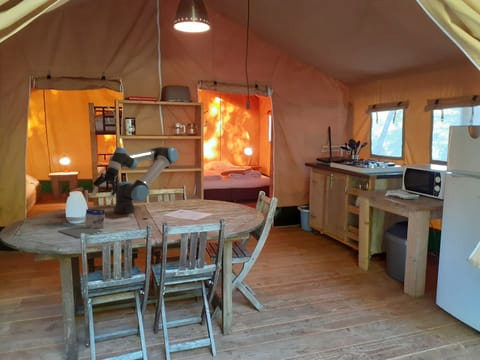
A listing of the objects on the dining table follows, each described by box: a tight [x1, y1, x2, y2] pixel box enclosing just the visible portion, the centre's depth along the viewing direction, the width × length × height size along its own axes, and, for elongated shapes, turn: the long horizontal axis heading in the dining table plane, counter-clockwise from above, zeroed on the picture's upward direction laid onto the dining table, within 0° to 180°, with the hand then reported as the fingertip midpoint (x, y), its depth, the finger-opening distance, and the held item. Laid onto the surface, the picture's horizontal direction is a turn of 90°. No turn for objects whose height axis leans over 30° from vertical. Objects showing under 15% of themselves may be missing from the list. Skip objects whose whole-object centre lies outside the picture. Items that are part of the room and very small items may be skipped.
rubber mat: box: [57, 224, 103, 239], centre depth 230 cm, size 16×22×1 cm
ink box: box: [84, 208, 106, 229], centre depth 237 cm, size 12×2×12 cm, turn 104°
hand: (101, 197), depth 247 cm, fingers open, 13 cm apart
